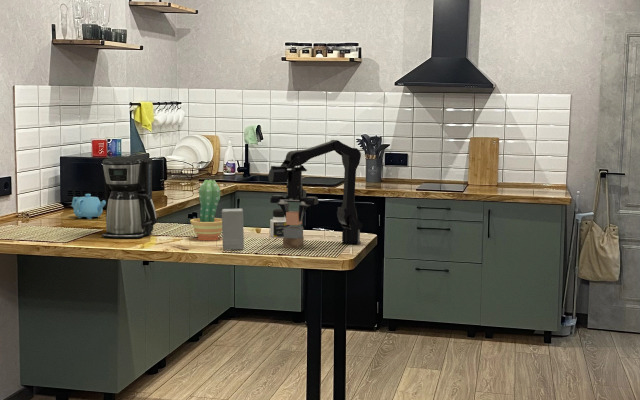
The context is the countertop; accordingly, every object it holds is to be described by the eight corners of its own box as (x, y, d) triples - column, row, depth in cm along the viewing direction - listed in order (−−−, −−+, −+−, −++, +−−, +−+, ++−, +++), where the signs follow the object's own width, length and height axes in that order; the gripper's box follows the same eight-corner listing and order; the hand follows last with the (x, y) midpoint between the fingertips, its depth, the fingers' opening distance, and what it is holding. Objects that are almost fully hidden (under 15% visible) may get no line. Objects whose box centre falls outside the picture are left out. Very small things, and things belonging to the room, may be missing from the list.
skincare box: (244, 247, 346) (244, 208, 344) (243, 250, 339) (243, 210, 337) (222, 247, 346) (222, 207, 344) (221, 250, 339) (221, 209, 337)
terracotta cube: (301, 223, 351) (302, 211, 350) (297, 225, 346) (297, 212, 346) (290, 223, 352) (290, 210, 352) (285, 224, 348) (286, 212, 347)
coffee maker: (102, 240, 358) (101, 158, 355) (98, 229, 389) (97, 154, 386) (157, 238, 365) (157, 158, 362) (149, 228, 396) (149, 154, 392)
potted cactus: (234, 238, 369) (234, 179, 366) (209, 242, 356) (209, 182, 353) (206, 235, 377) (206, 177, 375) (181, 239, 365) (181, 179, 362)
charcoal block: (303, 236, 352) (303, 227, 351) (297, 238, 346) (298, 228, 346) (289, 235, 354) (289, 226, 353) (283, 237, 348) (284, 228, 348)
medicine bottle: (273, 238, 372) (273, 210, 371) (269, 235, 379) (270, 208, 378) (289, 237, 374) (289, 209, 373) (285, 235, 381) (286, 208, 380)
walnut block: (303, 246, 352) (303, 236, 352) (298, 248, 346) (298, 239, 346) (288, 245, 354) (288, 235, 354) (282, 247, 348) (283, 238, 348)
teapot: (61, 218, 423) (61, 194, 421) (83, 214, 438) (82, 191, 437) (96, 221, 415) (95, 196, 414) (116, 217, 431) (116, 193, 429)
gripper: (322, 182, 352) (322, 220, 354) (280, 180, 358) (279, 217, 360) (314, 184, 342) (313, 223, 343) (269, 182, 347) (269, 220, 349)
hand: (294, 221), depth 349 cm, fingers closed on terracotta cube, 5 cm apart
